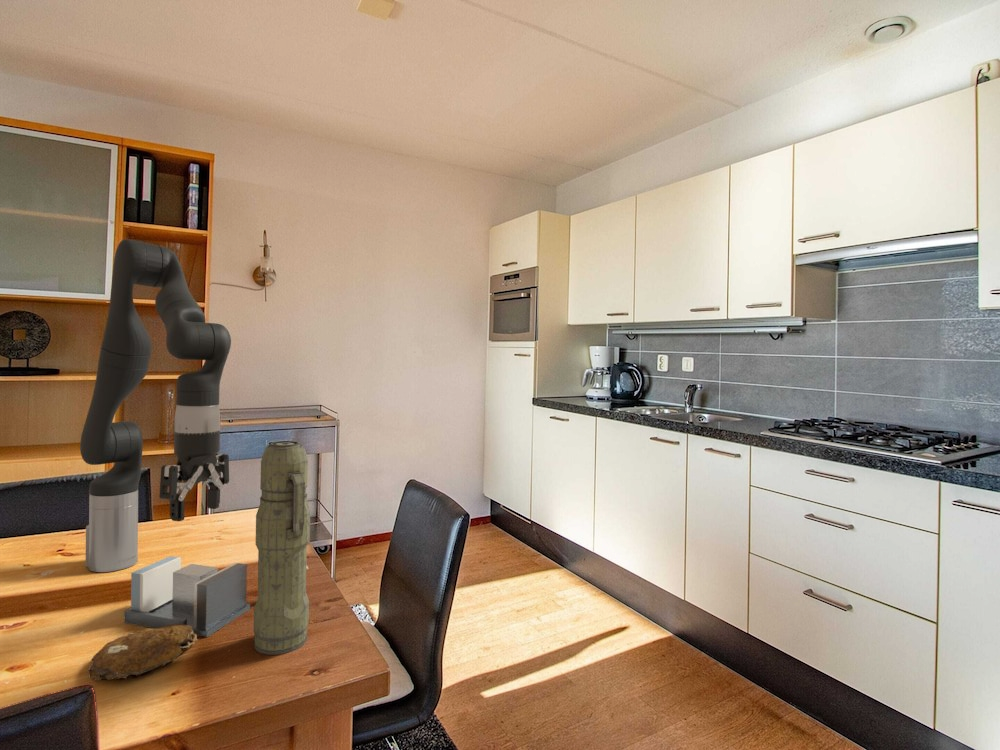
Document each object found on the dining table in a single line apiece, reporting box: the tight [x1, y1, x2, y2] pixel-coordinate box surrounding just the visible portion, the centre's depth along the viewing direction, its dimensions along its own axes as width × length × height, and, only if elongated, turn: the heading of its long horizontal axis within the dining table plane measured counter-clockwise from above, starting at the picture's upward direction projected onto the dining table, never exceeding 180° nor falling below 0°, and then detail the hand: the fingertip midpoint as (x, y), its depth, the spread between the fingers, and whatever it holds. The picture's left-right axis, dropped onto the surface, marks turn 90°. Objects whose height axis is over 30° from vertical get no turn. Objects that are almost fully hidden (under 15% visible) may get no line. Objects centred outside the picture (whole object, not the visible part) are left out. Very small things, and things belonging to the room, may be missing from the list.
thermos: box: [253, 440, 311, 656], centre depth 94 cm, size 9×12×35 cm
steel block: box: [172, 563, 219, 618], centre depth 102 cm, size 6×4×8 cm
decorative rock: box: [88, 623, 199, 682], centre depth 88 cm, size 11×4×15 cm
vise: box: [123, 562, 251, 638], centre depth 103 cm, size 18×11×9 cm, turn 77°
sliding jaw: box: [130, 555, 182, 612], centre depth 104 cm, size 3×9×8 cm, turn 167°
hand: (196, 514), depth 102 cm, fingers open, 8 cm apart
